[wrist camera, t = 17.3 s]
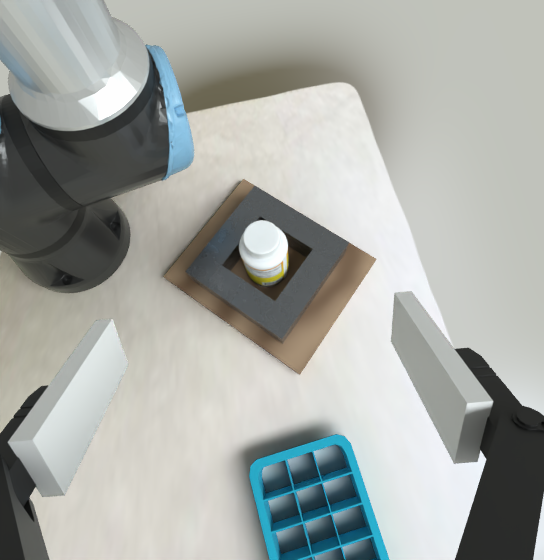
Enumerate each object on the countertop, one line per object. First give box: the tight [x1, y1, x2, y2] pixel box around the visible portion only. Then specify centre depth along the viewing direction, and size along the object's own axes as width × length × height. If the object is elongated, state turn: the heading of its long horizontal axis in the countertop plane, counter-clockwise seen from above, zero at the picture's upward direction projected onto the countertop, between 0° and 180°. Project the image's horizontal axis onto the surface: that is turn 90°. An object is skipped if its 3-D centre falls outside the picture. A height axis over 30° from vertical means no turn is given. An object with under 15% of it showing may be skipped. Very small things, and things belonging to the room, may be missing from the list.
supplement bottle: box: [239, 220, 289, 287], centre depth 43 cm, size 6×6×10 cm
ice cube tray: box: [249, 434, 389, 560], centre depth 38 cm, size 12×20×3 cm, turn 16°
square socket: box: [185, 186, 349, 344], centre depth 46 cm, size 14×14×4 cm
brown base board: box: [163, 179, 376, 374], centre depth 49 cm, size 22×18×1 cm
